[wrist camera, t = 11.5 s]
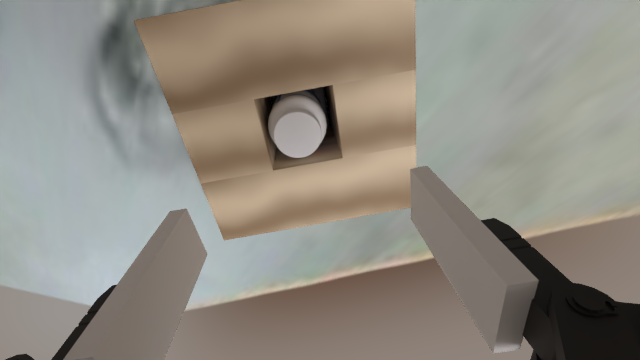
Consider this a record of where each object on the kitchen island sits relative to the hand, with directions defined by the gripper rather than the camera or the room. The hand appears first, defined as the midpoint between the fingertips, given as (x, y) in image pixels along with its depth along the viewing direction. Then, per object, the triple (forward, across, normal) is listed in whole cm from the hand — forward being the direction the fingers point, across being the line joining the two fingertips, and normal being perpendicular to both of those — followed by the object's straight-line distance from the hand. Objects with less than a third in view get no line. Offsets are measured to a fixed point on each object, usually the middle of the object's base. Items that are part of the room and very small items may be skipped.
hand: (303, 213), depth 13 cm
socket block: (+23, 0, 0) cm, 23 cm away
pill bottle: (+21, 0, 0) cm, 21 cm away
